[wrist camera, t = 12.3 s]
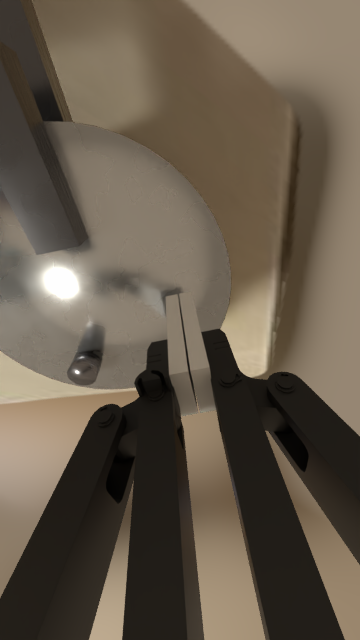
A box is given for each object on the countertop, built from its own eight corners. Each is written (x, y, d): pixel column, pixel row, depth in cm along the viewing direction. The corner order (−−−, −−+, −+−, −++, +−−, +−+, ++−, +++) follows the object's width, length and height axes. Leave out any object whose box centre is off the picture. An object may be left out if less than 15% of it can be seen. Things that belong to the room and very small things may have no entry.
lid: (36, 393, 21) (21, 420, 19) (-182, 118, 11) (-270, 109, 9) (235, 362, 20) (243, 387, 18) (206, 11, 9) (217, -32, 7)
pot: (69, 344, 30) (39, 406, 22) (-87, 74, 16) (-292, 2, 9) (210, 316, 29) (228, 370, 22) (166, 9, 16) (174, -128, 8)
